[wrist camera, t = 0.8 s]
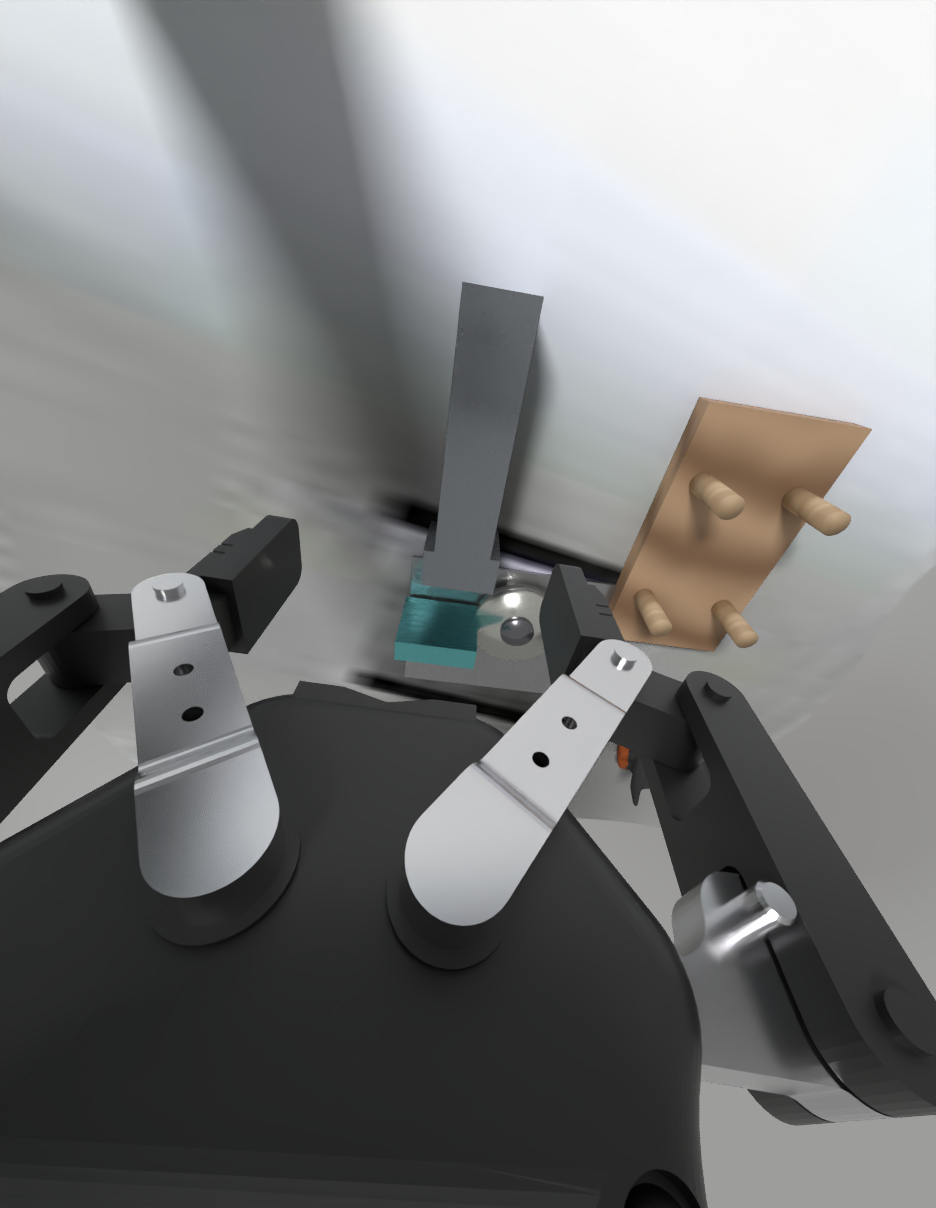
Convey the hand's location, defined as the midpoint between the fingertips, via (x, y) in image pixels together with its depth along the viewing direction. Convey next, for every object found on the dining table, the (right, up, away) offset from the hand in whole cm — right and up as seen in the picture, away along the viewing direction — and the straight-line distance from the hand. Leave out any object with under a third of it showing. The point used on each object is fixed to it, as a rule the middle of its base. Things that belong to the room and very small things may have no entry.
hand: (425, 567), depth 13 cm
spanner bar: (+2, +10, +16) cm, 19 cm away
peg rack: (+21, +4, +20) cm, 29 cm away
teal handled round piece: (+3, -2, +24) cm, 25 cm away
